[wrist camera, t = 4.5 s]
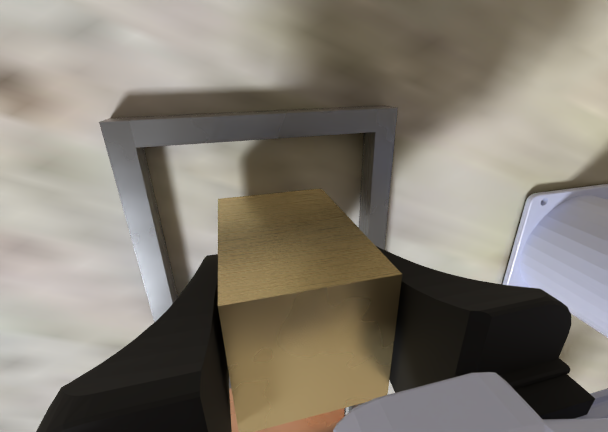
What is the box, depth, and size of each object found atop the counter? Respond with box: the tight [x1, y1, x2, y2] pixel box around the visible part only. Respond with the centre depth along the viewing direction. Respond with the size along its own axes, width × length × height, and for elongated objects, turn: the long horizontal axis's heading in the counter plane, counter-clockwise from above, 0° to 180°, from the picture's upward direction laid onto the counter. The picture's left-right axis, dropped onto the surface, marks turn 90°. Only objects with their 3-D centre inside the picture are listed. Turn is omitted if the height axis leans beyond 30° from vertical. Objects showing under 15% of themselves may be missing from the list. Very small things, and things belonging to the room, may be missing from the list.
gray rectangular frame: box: [99, 106, 398, 432], centre depth 18 cm, size 12×25×1 cm, turn 1°
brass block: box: [218, 189, 402, 432], centre depth 11 cm, size 4×4×7 cm
